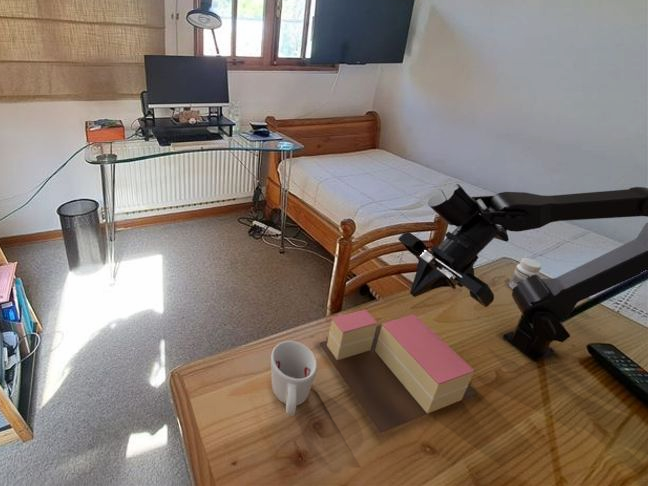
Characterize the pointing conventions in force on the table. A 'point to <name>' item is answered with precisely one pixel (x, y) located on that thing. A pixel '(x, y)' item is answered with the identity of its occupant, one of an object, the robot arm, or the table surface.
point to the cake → (423, 363)
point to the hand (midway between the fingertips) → (412, 295)
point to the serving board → (379, 388)
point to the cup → (292, 373)
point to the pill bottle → (525, 271)
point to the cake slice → (351, 334)
